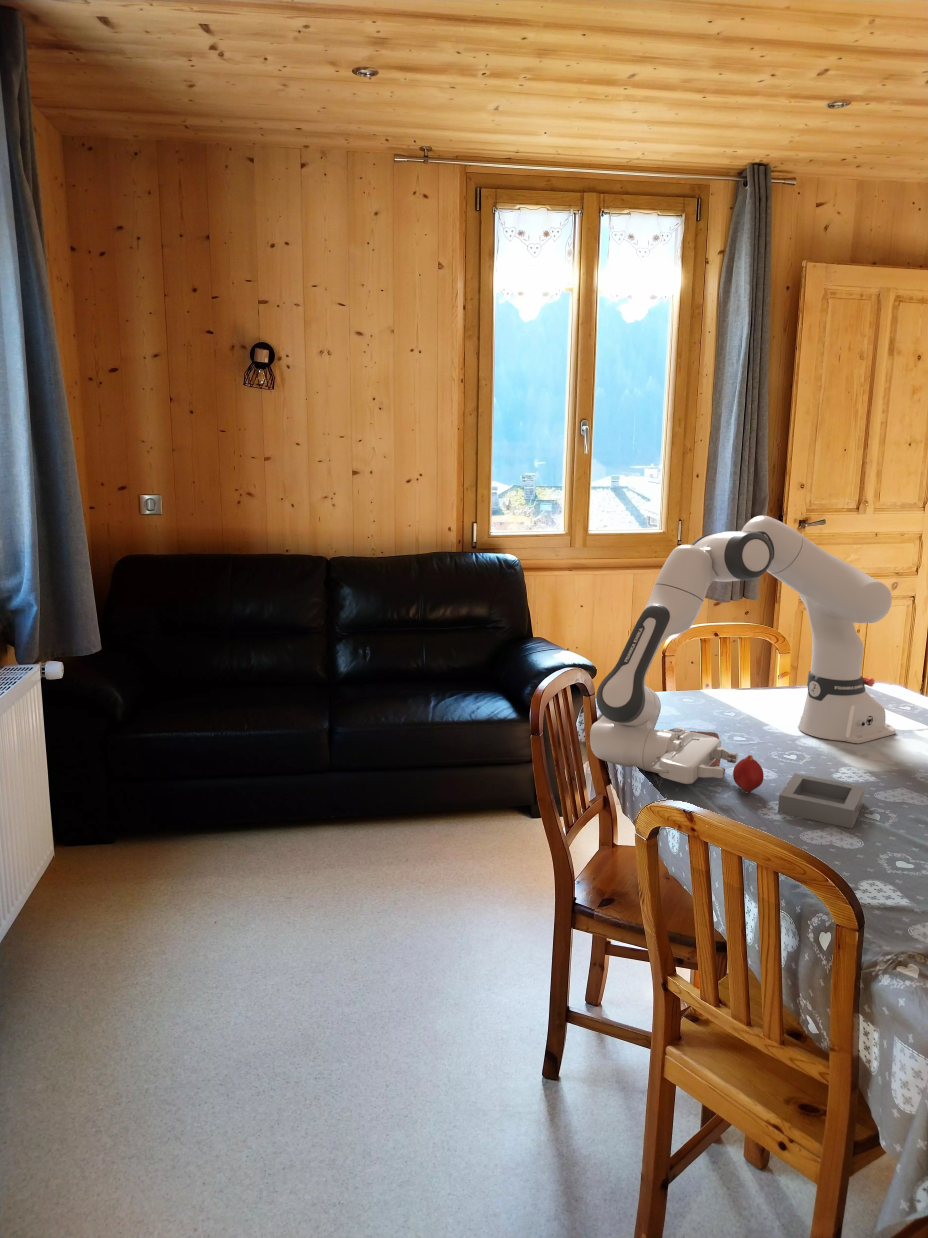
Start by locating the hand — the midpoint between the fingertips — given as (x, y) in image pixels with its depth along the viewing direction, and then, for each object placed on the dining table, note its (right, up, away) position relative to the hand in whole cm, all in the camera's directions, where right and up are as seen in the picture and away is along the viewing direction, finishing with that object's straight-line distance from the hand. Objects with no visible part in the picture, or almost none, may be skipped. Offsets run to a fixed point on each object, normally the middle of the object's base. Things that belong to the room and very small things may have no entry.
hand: (730, 765), depth 176 cm
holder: (+15, -7, -8) cm, 18 cm away
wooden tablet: (0, -1, +23) cm, 23 cm away
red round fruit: (+3, -5, -1) cm, 6 cm away
